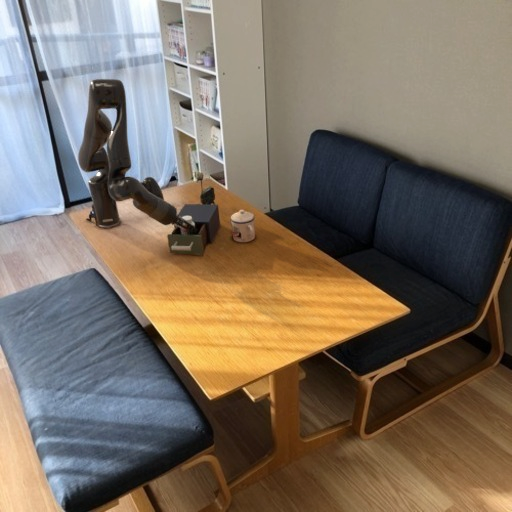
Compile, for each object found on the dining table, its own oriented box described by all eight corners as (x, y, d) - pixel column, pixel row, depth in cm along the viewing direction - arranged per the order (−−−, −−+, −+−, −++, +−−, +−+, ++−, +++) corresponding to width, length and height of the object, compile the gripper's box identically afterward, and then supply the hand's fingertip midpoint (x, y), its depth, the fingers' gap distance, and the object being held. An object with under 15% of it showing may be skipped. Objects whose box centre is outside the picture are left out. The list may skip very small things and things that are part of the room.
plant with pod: (222, 213, 220) (217, 168, 210) (198, 220, 215) (193, 175, 205) (212, 207, 226) (208, 163, 216) (190, 214, 221) (184, 170, 211)
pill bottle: (181, 245, 190) (178, 221, 185) (183, 238, 195) (179, 215, 190) (196, 244, 190) (193, 220, 185) (197, 237, 195) (194, 214, 190)
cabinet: (211, 243, 197) (208, 221, 192) (176, 242, 199) (173, 221, 194) (220, 225, 210) (218, 204, 205) (187, 224, 212) (184, 204, 208)
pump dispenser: (137, 210, 228) (131, 178, 220) (157, 202, 234) (152, 171, 226) (150, 216, 221) (144, 183, 214) (170, 209, 227) (165, 176, 220)
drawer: (199, 261, 183) (196, 243, 180) (165, 260, 185) (162, 242, 182) (212, 235, 200) (210, 218, 196) (181, 235, 202) (178, 218, 199)
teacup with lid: (228, 236, 201) (225, 209, 195) (248, 230, 205) (246, 203, 199) (243, 248, 192) (241, 220, 186) (264, 241, 195) (262, 213, 190)
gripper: (176, 206, 174) (208, 226, 187) (154, 195, 184) (186, 215, 197) (165, 226, 174) (198, 244, 187) (144, 213, 184) (176, 232, 196)
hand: (192, 229), depth 191 cm, fingers closed on pill bottle, 5 cm apart
